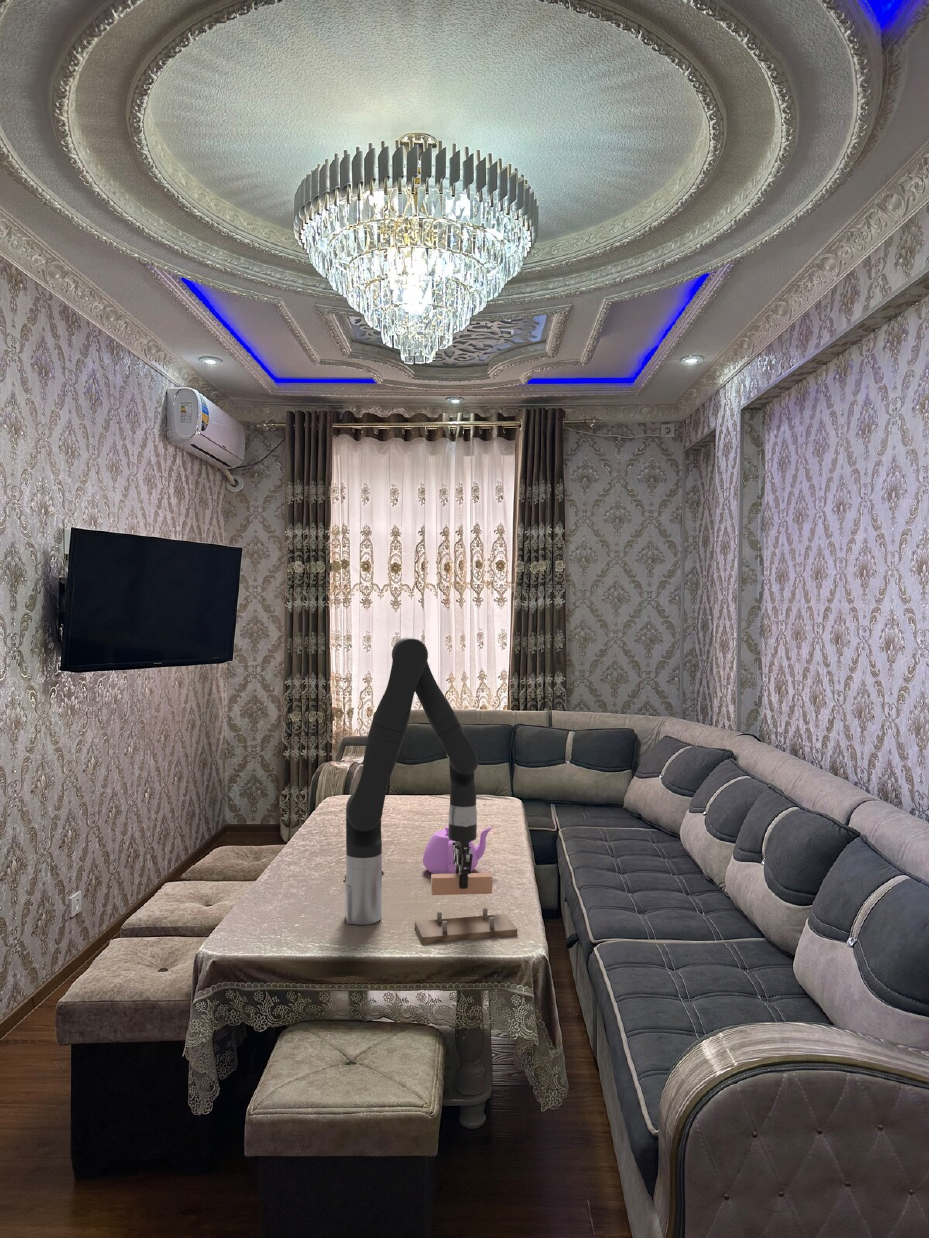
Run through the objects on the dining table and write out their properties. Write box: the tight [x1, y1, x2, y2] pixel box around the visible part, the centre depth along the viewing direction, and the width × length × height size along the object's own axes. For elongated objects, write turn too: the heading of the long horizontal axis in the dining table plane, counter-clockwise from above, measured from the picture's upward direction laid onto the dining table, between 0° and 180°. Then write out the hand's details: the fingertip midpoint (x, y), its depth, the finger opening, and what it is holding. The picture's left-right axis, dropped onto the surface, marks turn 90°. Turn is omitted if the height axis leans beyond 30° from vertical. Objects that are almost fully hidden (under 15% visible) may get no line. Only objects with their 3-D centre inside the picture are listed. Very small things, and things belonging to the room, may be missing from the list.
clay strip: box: [430, 872, 493, 896], centre depth 225 cm, size 16×4×4 cm, turn 97°
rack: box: [414, 907, 518, 944], centre depth 213 cm, size 24×11×4 cm, turn 103°
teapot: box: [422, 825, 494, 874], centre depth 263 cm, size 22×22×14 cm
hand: (461, 885), depth 225 cm, fingers closed on clay strip, 3 cm apart
